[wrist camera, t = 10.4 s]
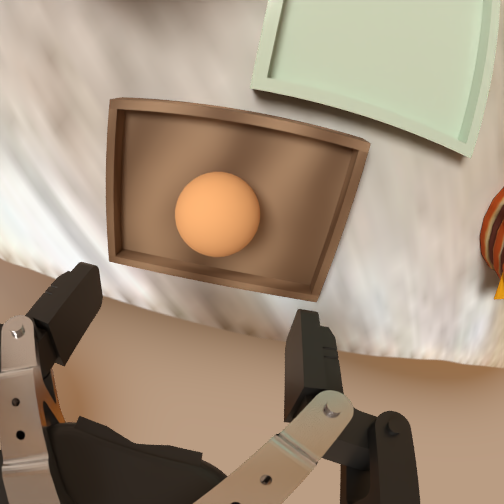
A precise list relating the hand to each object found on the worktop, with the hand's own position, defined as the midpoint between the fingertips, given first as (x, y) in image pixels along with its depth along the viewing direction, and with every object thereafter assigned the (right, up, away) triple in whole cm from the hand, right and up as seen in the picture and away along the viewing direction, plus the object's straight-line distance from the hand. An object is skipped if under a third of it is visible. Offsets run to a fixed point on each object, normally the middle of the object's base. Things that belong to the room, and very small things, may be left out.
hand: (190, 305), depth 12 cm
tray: (0, +6, +9) cm, 11 cm away
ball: (+1, +5, +9) cm, 10 cm away
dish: (+11, +17, +2) cm, 20 cm away
